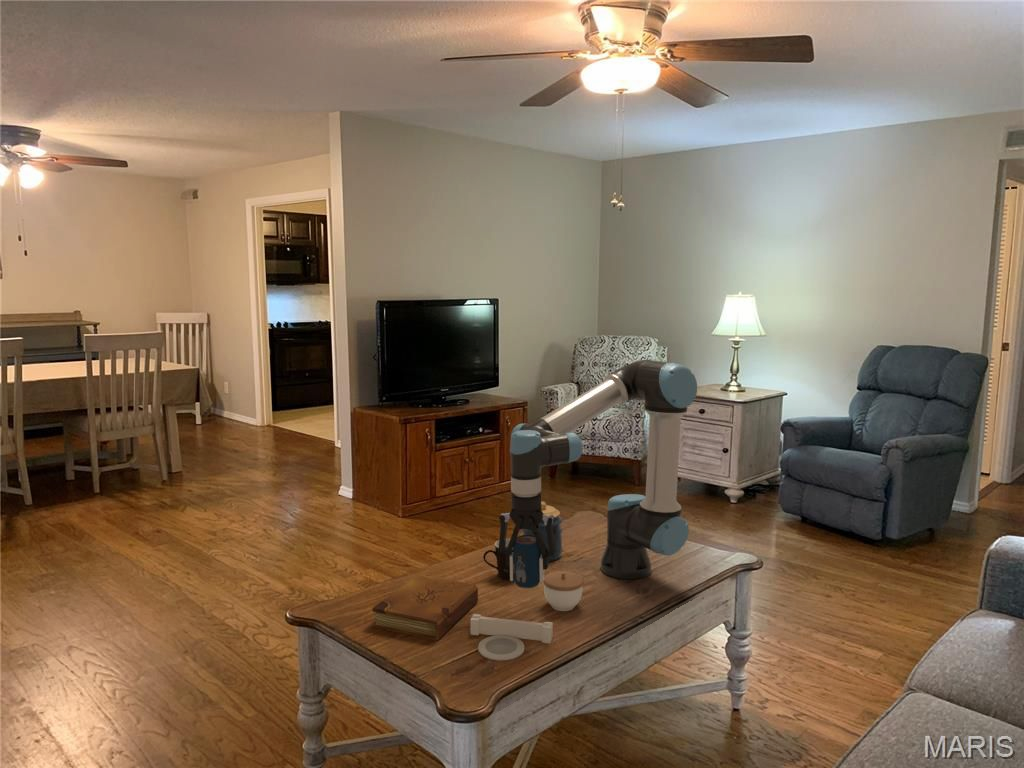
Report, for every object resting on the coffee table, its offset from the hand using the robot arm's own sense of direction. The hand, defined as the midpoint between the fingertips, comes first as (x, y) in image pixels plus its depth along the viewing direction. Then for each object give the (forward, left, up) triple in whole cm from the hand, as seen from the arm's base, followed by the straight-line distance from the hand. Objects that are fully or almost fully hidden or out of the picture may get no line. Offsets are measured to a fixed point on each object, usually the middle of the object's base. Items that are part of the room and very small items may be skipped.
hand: (527, 579), depth 182 cm
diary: (+26, +1, -12) cm, 29 cm away
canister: (+4, -47, -12) cm, 48 cm away
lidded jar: (-8, -12, -12) cm, 18 cm away
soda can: (0, 0, -1) cm, 1 cm away
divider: (+2, +8, -12) cm, 14 cm away
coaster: (+3, +14, -12) cm, 19 cm away
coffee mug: (+12, -28, -12) cm, 32 cm away
